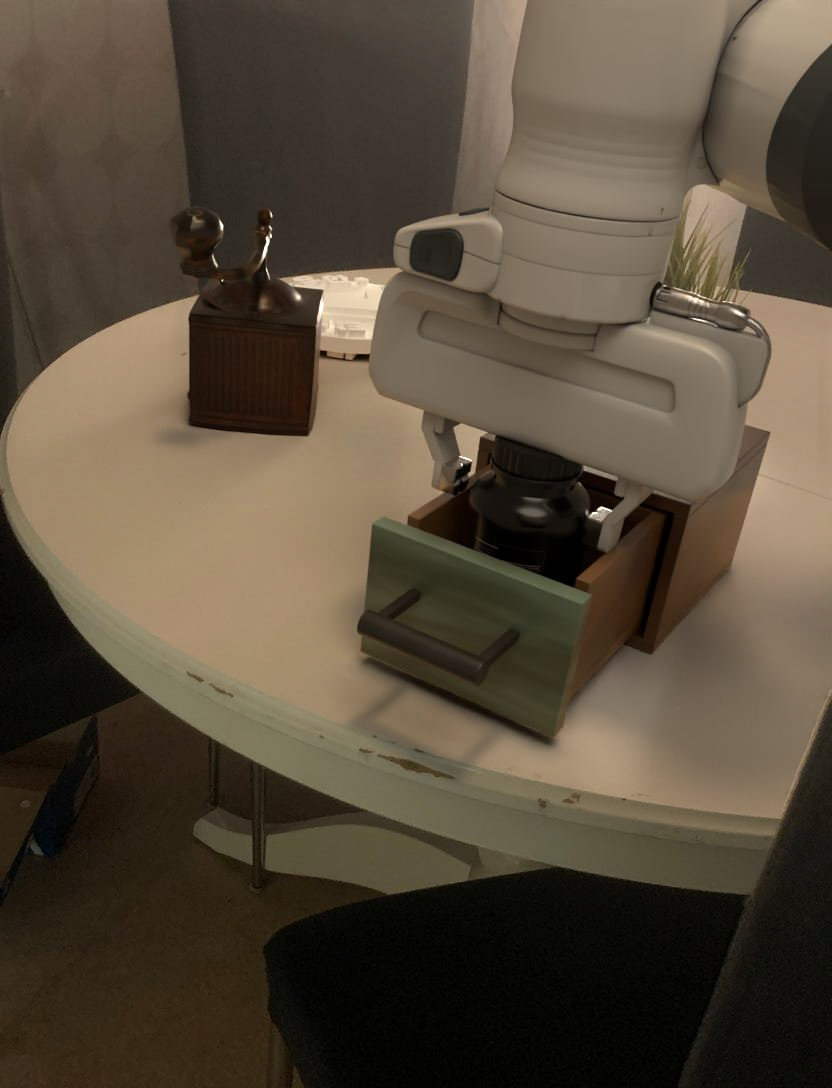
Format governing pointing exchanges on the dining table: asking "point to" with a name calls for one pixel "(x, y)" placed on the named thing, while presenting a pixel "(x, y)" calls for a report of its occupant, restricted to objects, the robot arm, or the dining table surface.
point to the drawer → (503, 609)
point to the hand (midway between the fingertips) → (521, 516)
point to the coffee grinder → (248, 335)
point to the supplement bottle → (530, 511)
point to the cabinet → (684, 537)
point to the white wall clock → (345, 313)
